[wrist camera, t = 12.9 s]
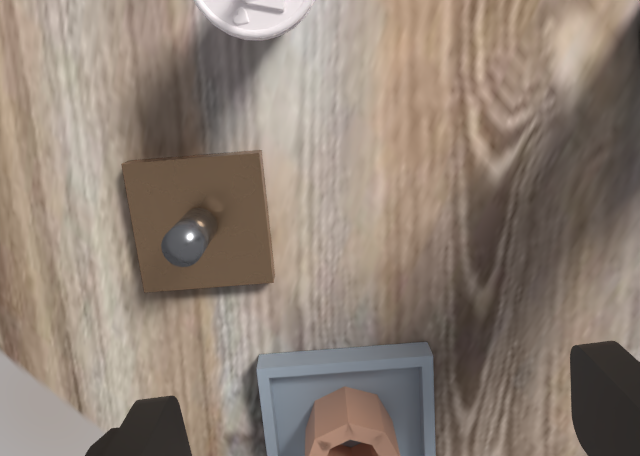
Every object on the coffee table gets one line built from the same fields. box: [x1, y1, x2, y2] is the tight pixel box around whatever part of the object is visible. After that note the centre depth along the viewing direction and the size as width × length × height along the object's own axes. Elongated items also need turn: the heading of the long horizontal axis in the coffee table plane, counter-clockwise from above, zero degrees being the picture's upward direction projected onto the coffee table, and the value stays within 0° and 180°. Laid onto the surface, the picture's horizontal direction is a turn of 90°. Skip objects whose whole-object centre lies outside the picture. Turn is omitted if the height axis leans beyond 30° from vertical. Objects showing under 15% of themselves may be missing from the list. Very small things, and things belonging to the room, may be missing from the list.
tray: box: [256, 342, 436, 456], centre depth 41 cm, size 13×13×2 cm
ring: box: [305, 386, 400, 456], centre depth 39 cm, size 6×6×4 cm
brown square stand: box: [122, 150, 275, 293], centre depth 34 cm, size 9×9×6 cm
